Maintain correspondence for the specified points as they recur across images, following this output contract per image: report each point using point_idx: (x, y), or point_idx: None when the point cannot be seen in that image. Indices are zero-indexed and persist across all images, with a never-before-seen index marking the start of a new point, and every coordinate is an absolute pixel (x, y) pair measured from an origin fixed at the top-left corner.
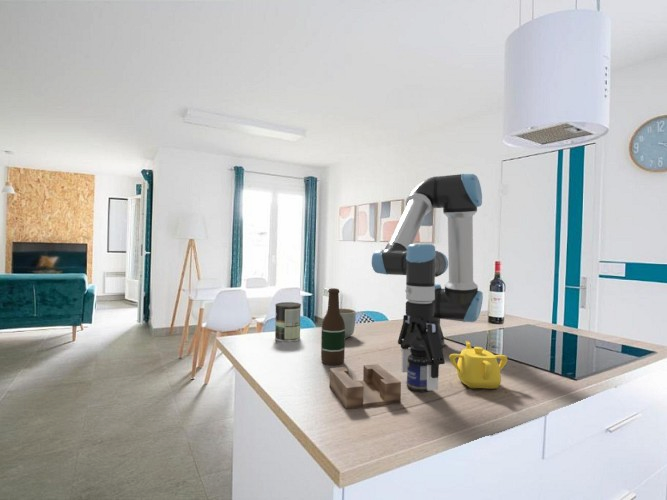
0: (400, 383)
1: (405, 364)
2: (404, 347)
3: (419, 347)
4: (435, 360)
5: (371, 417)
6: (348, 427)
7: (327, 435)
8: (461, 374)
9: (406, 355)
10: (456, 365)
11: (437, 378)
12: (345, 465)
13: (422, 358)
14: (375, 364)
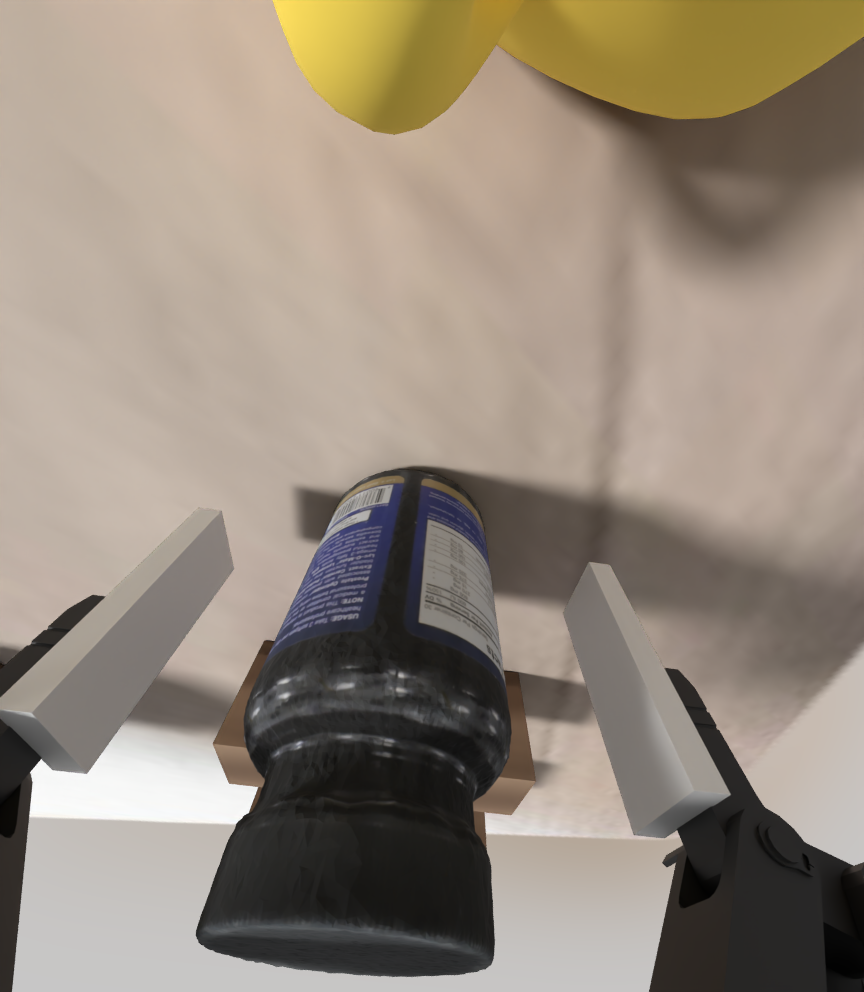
0: (534, 774)
1: (193, 601)
2: (19, 780)
3: (336, 951)
4: (845, 976)
5: (553, 760)
6: (562, 799)
7: (564, 823)
8: (583, 56)
9: (130, 676)
10: (496, 23)
11: (643, 636)
12: (679, 835)
13: (474, 800)
14: (219, 751)
